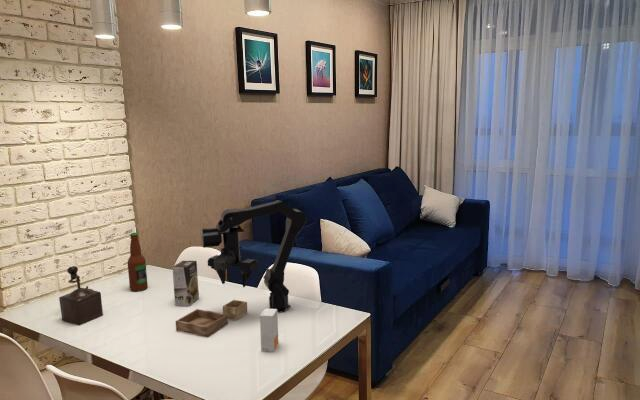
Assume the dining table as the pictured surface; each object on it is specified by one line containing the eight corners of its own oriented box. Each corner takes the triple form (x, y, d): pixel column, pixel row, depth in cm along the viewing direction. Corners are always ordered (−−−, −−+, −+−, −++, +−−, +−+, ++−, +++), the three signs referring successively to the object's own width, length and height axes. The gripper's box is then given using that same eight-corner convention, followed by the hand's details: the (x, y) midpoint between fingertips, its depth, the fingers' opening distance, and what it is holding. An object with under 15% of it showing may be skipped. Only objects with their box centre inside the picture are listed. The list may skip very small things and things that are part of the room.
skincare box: (274, 352, 151) (272, 316, 149) (260, 351, 152) (259, 315, 150) (279, 343, 157) (277, 308, 155) (266, 342, 158) (264, 307, 156)
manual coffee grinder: (105, 314, 184) (100, 269, 181) (79, 325, 174) (74, 278, 171) (78, 307, 191) (73, 264, 188) (52, 318, 181) (46, 272, 178)
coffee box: (189, 306, 189) (186, 267, 187) (174, 305, 191) (171, 266, 188) (199, 298, 198) (197, 260, 196) (185, 297, 200) (182, 259, 197)
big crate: (228, 323, 173) (227, 314, 172) (207, 337, 163) (207, 327, 162) (197, 317, 179) (197, 308, 178) (176, 330, 168) (175, 321, 168)
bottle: (144, 291, 207) (139, 235, 203) (127, 292, 207) (121, 235, 203) (150, 286, 214) (145, 231, 210) (133, 286, 214) (128, 231, 210)
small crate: (247, 313, 182) (246, 301, 181) (236, 320, 176) (236, 308, 175) (234, 310, 184) (233, 299, 184) (223, 317, 178) (222, 306, 177)
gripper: (196, 247, 172) (199, 289, 175) (240, 252, 164) (242, 296, 167) (215, 240, 182) (218, 279, 185) (257, 244, 174) (259, 285, 177)
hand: (233, 285), depth 178 cm, fingers open, 9 cm apart
